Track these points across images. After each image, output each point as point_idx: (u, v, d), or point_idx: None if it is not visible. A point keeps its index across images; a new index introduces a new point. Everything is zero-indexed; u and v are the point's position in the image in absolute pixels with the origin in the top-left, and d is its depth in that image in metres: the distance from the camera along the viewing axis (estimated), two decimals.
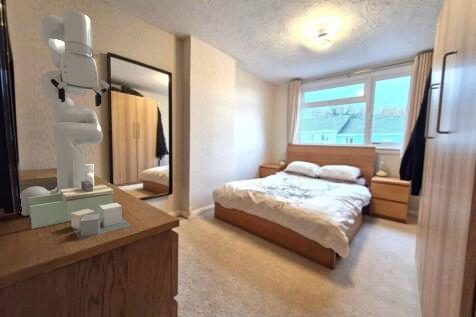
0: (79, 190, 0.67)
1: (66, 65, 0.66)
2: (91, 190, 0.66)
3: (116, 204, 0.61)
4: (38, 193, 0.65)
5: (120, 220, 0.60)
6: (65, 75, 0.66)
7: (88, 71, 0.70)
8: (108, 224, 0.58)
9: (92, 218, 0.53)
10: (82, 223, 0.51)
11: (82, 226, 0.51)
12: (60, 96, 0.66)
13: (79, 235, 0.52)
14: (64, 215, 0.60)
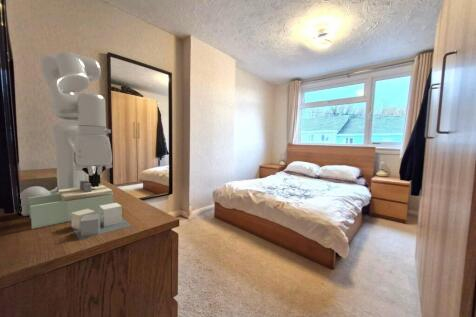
0: (77, 190, 0.67)
1: (80, 149, 0.64)
2: (89, 190, 0.65)
3: (116, 204, 0.61)
4: (38, 193, 0.65)
5: (120, 220, 0.60)
6: (79, 159, 0.64)
7: (102, 151, 0.68)
8: (108, 224, 0.58)
9: (92, 218, 0.53)
10: (82, 223, 0.51)
11: (82, 226, 0.51)
12: (91, 182, 0.68)
13: (79, 235, 0.52)
14: (64, 215, 0.60)
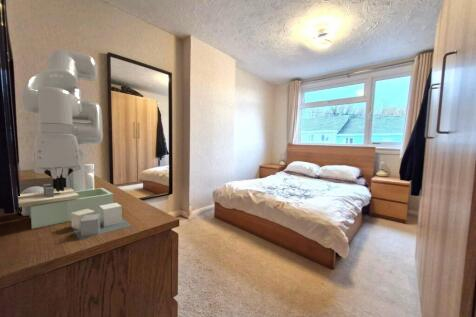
0: (39, 195, 0.60)
1: (41, 150, 0.58)
2: (52, 195, 0.59)
3: (116, 204, 0.61)
4: None
5: (120, 220, 0.60)
6: (40, 161, 0.58)
7: (67, 151, 0.62)
8: (108, 224, 0.58)
9: (92, 218, 0.53)
10: (82, 223, 0.51)
11: (82, 226, 0.51)
12: (55, 186, 0.62)
13: (79, 235, 0.52)
14: (64, 215, 0.60)
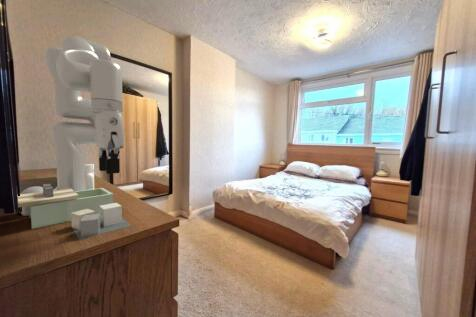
0: (39, 195, 0.60)
1: (95, 128, 0.59)
2: (51, 195, 0.59)
3: (116, 204, 0.61)
4: None
5: (120, 220, 0.60)
6: (95, 139, 0.59)
7: (99, 130, 0.55)
8: (108, 224, 0.58)
9: (92, 218, 0.53)
10: (82, 223, 0.51)
11: (82, 226, 0.51)
12: None
13: (79, 235, 0.52)
14: (64, 215, 0.60)
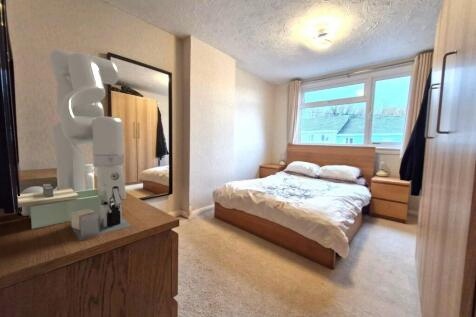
0: (39, 195, 0.60)
1: (97, 179, 0.60)
2: (51, 195, 0.59)
3: None
4: None
5: (120, 220, 0.60)
6: (97, 189, 0.61)
7: (101, 184, 0.56)
8: None
9: (92, 218, 0.53)
10: (82, 223, 0.51)
11: (82, 226, 0.51)
12: None
13: (79, 235, 0.52)
14: (64, 215, 0.60)
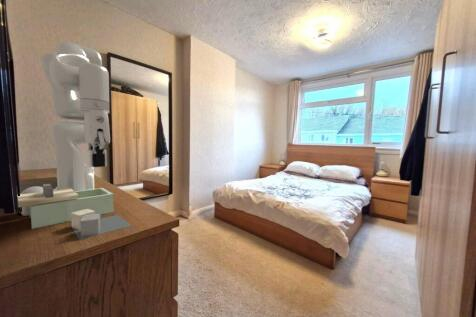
0: (39, 195, 0.60)
1: (84, 125, 0.65)
2: (51, 195, 0.59)
3: None
4: None
5: (105, 163, 0.65)
6: (84, 135, 0.65)
7: (87, 127, 0.61)
8: None
9: (92, 218, 0.53)
10: (82, 223, 0.51)
11: (82, 226, 0.51)
12: None
13: (79, 235, 0.52)
14: (64, 215, 0.60)
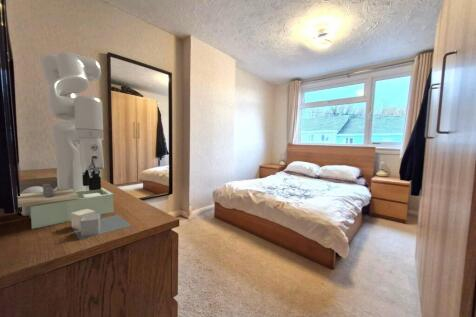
0: (39, 195, 0.60)
1: None
2: (51, 195, 0.59)
3: (97, 193, 0.71)
4: None
5: None
6: (80, 161, 0.70)
7: (82, 155, 0.65)
8: None
9: (92, 218, 0.53)
10: (82, 223, 0.51)
11: (82, 226, 0.51)
12: None
13: (79, 235, 0.52)
14: (64, 215, 0.60)
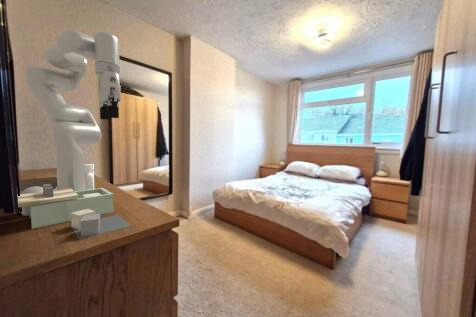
0: (39, 195, 0.60)
1: (98, 87, 0.76)
2: (51, 195, 0.59)
3: (97, 193, 0.71)
4: None
5: None
6: None
7: (102, 86, 0.72)
8: None
9: (92, 218, 0.53)
10: (82, 223, 0.51)
11: (82, 226, 0.51)
12: None
13: (79, 235, 0.52)
14: (64, 215, 0.60)
